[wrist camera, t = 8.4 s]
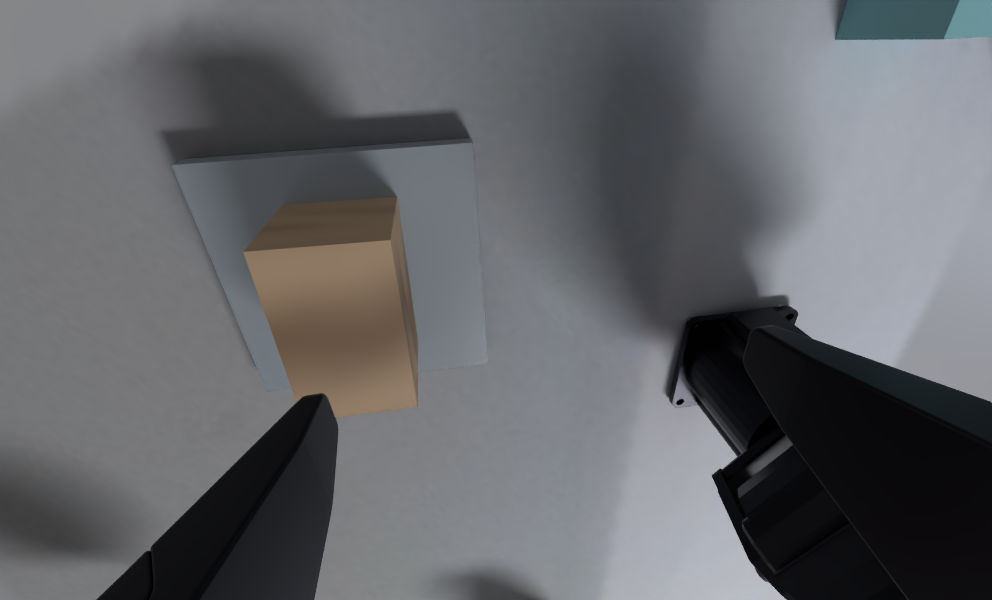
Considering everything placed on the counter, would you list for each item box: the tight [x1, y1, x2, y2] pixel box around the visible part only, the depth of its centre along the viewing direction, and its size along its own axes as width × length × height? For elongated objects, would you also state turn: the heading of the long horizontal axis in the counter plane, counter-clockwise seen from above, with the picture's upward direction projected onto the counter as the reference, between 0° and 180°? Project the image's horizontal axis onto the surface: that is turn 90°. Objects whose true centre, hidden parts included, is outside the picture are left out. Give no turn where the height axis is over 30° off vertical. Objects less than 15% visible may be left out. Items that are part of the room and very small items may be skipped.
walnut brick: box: [243, 197, 418, 417], centre depth 17 cm, size 7×4×4 cm, turn 2°
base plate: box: [171, 138, 488, 392], centre depth 20 cm, size 11×11×1 cm
